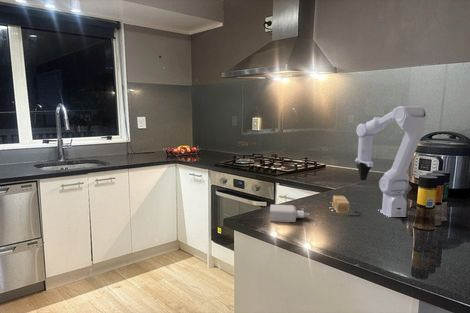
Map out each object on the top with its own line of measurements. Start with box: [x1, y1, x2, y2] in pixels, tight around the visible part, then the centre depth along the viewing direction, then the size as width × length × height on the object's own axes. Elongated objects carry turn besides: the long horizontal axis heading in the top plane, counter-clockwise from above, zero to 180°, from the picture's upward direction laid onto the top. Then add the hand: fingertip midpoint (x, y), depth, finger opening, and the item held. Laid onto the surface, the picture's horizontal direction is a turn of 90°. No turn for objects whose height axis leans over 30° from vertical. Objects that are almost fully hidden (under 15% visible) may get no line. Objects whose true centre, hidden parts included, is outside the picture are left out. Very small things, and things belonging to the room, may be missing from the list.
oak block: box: [331, 195, 350, 213], centre depth 135 cm, size 4×4×7 cm
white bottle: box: [269, 204, 311, 223], centre depth 126 cm, size 5×9×15 cm
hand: (363, 179), depth 149 cm, fingers closed
